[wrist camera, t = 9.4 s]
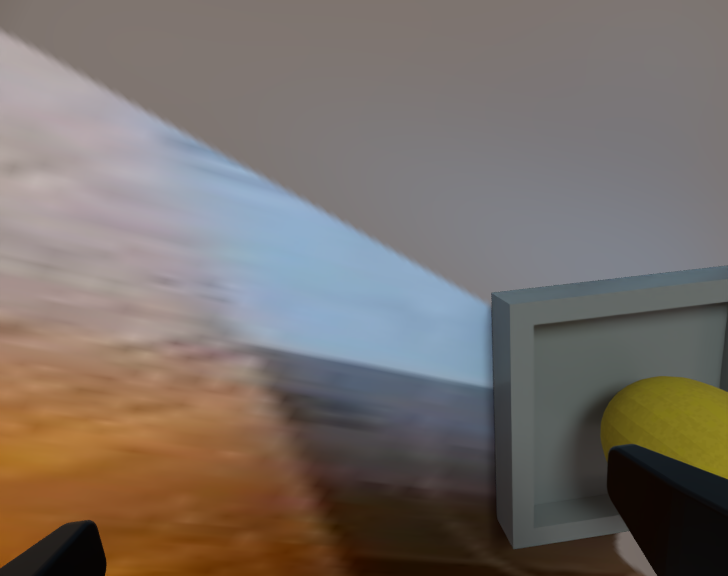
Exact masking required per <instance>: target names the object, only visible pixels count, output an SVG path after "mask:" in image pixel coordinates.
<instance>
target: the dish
mask: <svg viewBox="0 0 728 576" xmlns="http://www.w3.org/2000/svg"><path fill="white" fill-rule="evenodd" d="M491 295H492V336H493V377H494V418H495V459H496V501H497V519H498V521H499V523H500V525H501V527H502V529H503V531H504V532H505V534H506V536H507V538H508V540H509V542H510V544H511V546H512V548H513V549H518V548H525V547H531V546H537V545H544V544H550V543H556V542H563V541H569V540H575V539H582V538H588V537H595V536H601V535H607V534H614V533H620V532H626V531H629V529H628V527H627V526H626V524H625V523H624V521H623V519H622V518H621V516H620V514H619V513H618V511H617V510H616V508H615V506H614V505H613V503H612V501H611V500H610V497H609V495H608V492H607V464H608V463H607V461H606V458H605V455H604V452H603V448H602V444H601V438H600V433H601V421H602V417H603V414H604V411H605V409H606V407H607V406H608V404H609V402H610V401H611V400H612V399H613V397H614V396H615V395H616V394H617V393H618V392H619V391H621V390H622V389H623V388H625V387H626V386H627V385H630V384H632V383H634V382H636V381H639V380H642V379H646V378H651V377H657V376H671V377H684V378H689V379H693V380H696V381H700V382H703V383H706V384H709V385H712V386H714V387H717V388H720V389H722V390H724V391H726V392H728V266H719V267H710V268H702V269H693V270H684V271H676V272H667V273H659V274H650V275H641V276H633V277H624V278H615V279H607V280H598V281H590V282H580V283H572V284H563V285H554V286H546V287H538V288H529V289H520V290H511V291H502V292H494V293H492V294H491Z"/></svg>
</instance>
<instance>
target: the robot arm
mask: <svg viewBox="0 0 728 576" xmlns="http://www.w3.org/2000/svg"><path fill="white" fill-rule="evenodd" d="M607 492H608V495H609V497H610V500H611V501H612V503H613V505H614V506H615V508H616V510H617V511H618V513H619V514H620V516H621V518H622V519H623V521H624V523H625V524H626V526H627V527H628V529H629V531H630V532H631V534H632V535H633V537H634V539H635V540H636V542H637V544H638V545H639V547H640V548H641V550H642V552H643V553H644V555H645V557H646V558H647V560H648V562H649V563H650V565H651V566H652V568H653V570H654V571H655V573H656V574H657V576H728V479H726V478H723V477H721V476H718V475H716V474H713V473H710V472H708V471H705V470H702V469H700V468H697V467H694V466H692V465H689V464H686V463H684V462H681V461H678V460H676V459H673V458H671V457H668V456H665V455H663V454H660V453H657V452H655V451H652V450H649V449H647V448H644V447H641V446H639V445H636V444H625V445H618V446H613V447H612V448H610V450H609V452H608V464H607ZM105 573H106V557H105V553H104V550H103V546H102V543H101V539H100V535H99V532H98V528H97V526H96V524H95V523H94V522H93V521H91V520H84V521H77V522H70V523H66V524H64V525H62V526H61V527H59V528H58V529H56V530H55V531H54V532H52V533H51V534H49V535H48V536H46V537H45V538H43V539H42V540H41V541H39V542H38V543H36V544H35V545H33V546H32V547H30V548H29V549H28V550H26V551H25V552H23V553H22V554H20V555H19V556H17V557H16V558H15V559H13V560H12V561H10V562H9V563H7V564H6V565H4V566H3V567H2V568H0V576H105Z"/></svg>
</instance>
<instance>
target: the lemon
mask: <svg viewBox="0 0 728 576" xmlns="http://www.w3.org/2000/svg"><path fill="white" fill-rule="evenodd" d="M600 438H601V444H602V448H603V452H604V455H605V458H606V461H607V463H608V452H609V450H610V448H612V447H613V446H618V445H625V444H636V445H639V446H641V447H644V448H647V449H649V450H652V451H655V452H657V453H660V454H663V455H665V456H668V457H671V458H673V459H676V460H678V461H681V462H684V463H686V464H689V465H692V466H694V467H697V468H700V469H702V470H705V471H708V472H710V473H713V474H716V475H718V476H721V477H723V478H726V479H728V392H726V391H724V390H722V389H720V388H717V387H714V386H712V385H709V384H706V383H703V382H700V381H696V380H693V379H689V378H684V377H671V376H657V377H651V378H646V379H642V380H639V381H636V382H634V383H632V384H630V385H627V386H626V387H625V388H623V389H622V390H621V391H619V392H618V393H617V394H616V395H615V396H614V397H613V399H612V400H611V401H610V402H609V404H608V406H607V407H606V409H605V411H604V414H603V417H602V421H601V433H600Z"/></svg>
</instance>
